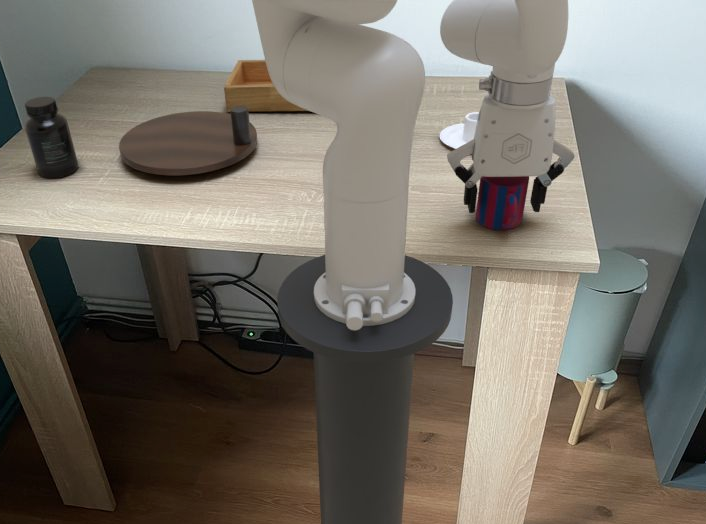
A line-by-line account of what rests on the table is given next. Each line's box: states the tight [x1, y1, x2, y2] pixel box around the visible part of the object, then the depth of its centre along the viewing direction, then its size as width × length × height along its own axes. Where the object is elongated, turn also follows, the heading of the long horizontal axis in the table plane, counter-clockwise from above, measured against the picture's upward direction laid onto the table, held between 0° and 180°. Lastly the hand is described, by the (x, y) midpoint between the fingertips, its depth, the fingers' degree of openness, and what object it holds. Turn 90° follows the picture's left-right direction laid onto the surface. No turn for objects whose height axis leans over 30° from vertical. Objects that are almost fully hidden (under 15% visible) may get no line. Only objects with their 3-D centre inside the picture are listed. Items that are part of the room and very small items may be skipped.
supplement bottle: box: [24, 95, 79, 179], centre depth 122 cm, size 7×7×12 cm
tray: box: [223, 59, 310, 113], centre depth 144 cm, size 31×15×6 cm, turn 84°
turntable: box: [118, 105, 258, 176], centre depth 125 cm, size 24×24×7 cm
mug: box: [475, 176, 530, 231], centre depth 104 cm, size 7×10×7 cm
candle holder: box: [439, 111, 480, 150], centre depth 127 cm, size 12×12×4 cm
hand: (502, 207), depth 104 cm, fingers open, 8 cm apart
